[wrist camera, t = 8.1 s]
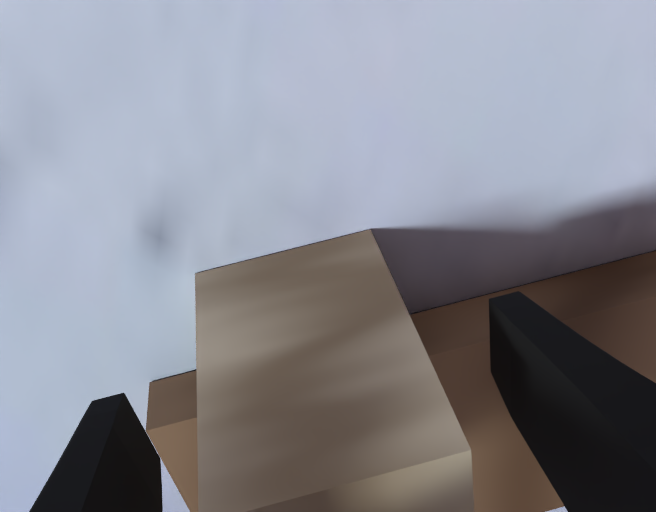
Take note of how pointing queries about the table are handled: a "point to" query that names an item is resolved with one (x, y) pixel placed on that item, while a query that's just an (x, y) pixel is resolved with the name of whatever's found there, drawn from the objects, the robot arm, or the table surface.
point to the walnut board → (470, 378)
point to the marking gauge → (320, 390)
